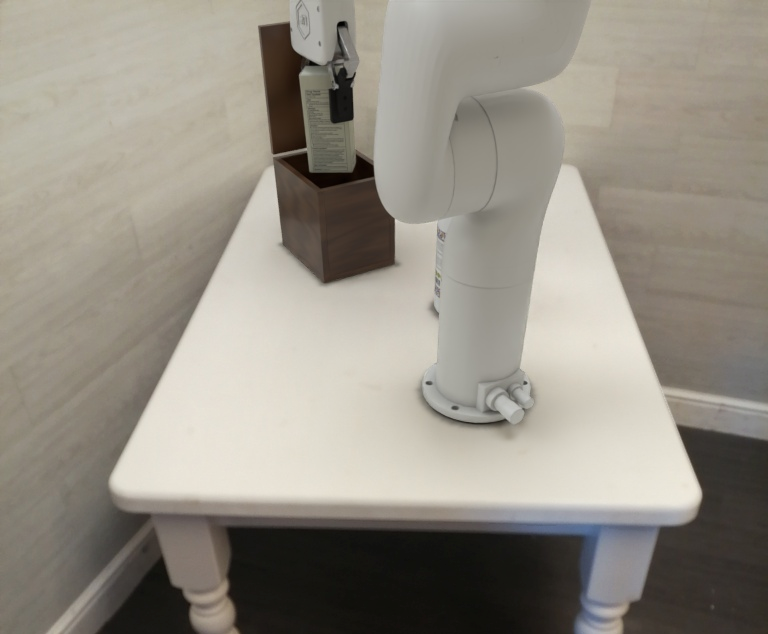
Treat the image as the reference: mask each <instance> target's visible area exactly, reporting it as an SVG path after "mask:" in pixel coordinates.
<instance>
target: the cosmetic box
mask: <svg viewBox="0 0 768 634" xmlns="http://www.w3.org/2000/svg"><path fill="white" fill-rule="evenodd" d="M340 68H343V66H337V67H335V69H336V74H337V75H338V72H339V70H340ZM299 79H300V88H301V98H302V107H303V116H304V126H305V134H306V144H307V148H306V151H307V153H308V162H309V171H310V172H311V173H351V172H353V169H354V167H355V164H356V153H355V149H356V137H355V124H354V122H355V121H354V119H353V120H352V121H347V122H342V123H336V124H333V123H332V122H331V121H330V107H329V90H328V89H330V88H332V87H331V83H330V78H329V74H328V69H327V66H305V67H304V69H303V70H302V71H301V73H300V74H299Z"/></svg>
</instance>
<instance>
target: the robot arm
mask: <svg viewBox="0 0 768 634" xmlns="http://www.w3.org/2000/svg"><path fill="white" fill-rule="evenodd" d="M591 4H592V0H388V2H387V6H386V9H385V15H384V21H383V22H384V23H383V31H382V41H381V54H380V66H379V76H378V88H377V89H378V90H377V102H376V112H375V125H374V126H375V127H374V137H373V138H374V140H373V161H374V175H375V182H376V187H377V191H378V195H379V197H380V200H381V202H382V204H383V206H384V208H385V209H386V211H387V212H388V213H389V214H390V215H391V216H392V217H393V218H395V220H397V221H398V222H400V223H404V224H408V225H422V224H426V223H433V222H438V220H442V219H446V218H450V217H453V218H452V220H451V223H450V225H449V227H448V230H447V233H446V236H445V240H444V245H443V251H442V266H441V285H440V305H439V313H438V328H437V350H436V362H435V363H433V364H432V365H431V366H430V367H429V368H427V370H426V372H425V373H424V375H423V377H422V385H421V388H422V395H423V397H424V400H425V401H426V402H427V404H428V405H429V406H430V407H431V408H432V409H434V410H435V411H436V412H438V413H439V414H442V415H443V416H445V417H448V418H451V419H453V420H457V421H461V422H466V423H475V424H485V423H495V422H498V421H503V420H507V422H509V423H510V424H511V425H517V424H519V423H520V422H521V421H522V420H523V419H524V417H525V414H526V413H525V410H529V409H531V408H532V407H533V406H534V405H535V399H534V398H533V397H532V396H530V394H531V389H532V388H531V382H530V379H529V377H528V376H527V374H526V372H525V371H523V369H522V368H521V366H522V365H521V364H522V358H523V352H524V345H525V339H526V331H527V324H528V317H529V311H530V304H531V297H532V290H533V283H534V276H535V271H536V265H537V258H538V251H539V247H540V246H539V245H540V241H541V235H542V230H543V225H544V221H545V217H546V213H547V210H548V207H549V204H550V201H551V197H552V196H553V192H554V189H555V186H556V183H557V181H558V179H559V174H560V172H561V168H562V164H563V159H564V154H565V144H566V134H565V127H564V123H563V119H562V116H561V114H560V111H559V109H558V108H557V106H556V105H555V104H554V102H553V100H551V99H550V98H549V97H548V96H547V95H545V94H543V93H541V92H539V91H537V90H534V89H531V88H527V87H531V86H535V85H536V86H537V85H540V84H543V83H546V82H548V81H551V80H553V79H554V78H556V77H558V76H559V75H560V74H562V73H563V72H564V70H565V69H567V67H568V66H569V64H570V63H571V61H572V59H573V57H574V55H575V52H576V51H577V47H578V45H579V42H580V39H581V36H582V33H583V30H584V26H585V23H586V20H587V17H588V14H589V10H590V7H591ZM288 6H289V7H288V9H289V21H290V31H291V43H292V47H293V49H294V50H295V51H296V52H297V53H298V54H300V56H301V59H302V61H301V70H303V69H304V67H305V66H324V65H327V69H328V74H329V78H330V83H331V87H332V88H330V89H328V90H329V107H330V121H331V122H332V123H333V124H336V123H342V122H347V121H352V120H353V121H354V119H355V111H354V110H355V109H354V87H355V78H356V76H357V75H356V74H357V70H358V67H359V64H360V57H359V54H358V52H357V24H356V23H357V22H356V9H355V8H356V7H355V0H288ZM334 55H337V56H339V57H341V58H340V59H333V56H334ZM332 59H333V60H332ZM337 66H343V68H340V70H339V72H338V75H337V74H336V69H335V67H337ZM524 409H525V410H524Z"/></svg>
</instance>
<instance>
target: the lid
mask: <svg viewBox="0 0 768 634" xmlns="http://www.w3.org/2000/svg"><path fill="white" fill-rule="evenodd" d="M257 29H258V38H259V48H260V49H259V50H260V57H261V67H262V78H263V86H264V96H265V105H266V112H267V113H266V115H267V125H268V133H269V143H270V144H269V145H270V153H271V155H273V156H274V155H279V154H284V153H289V152H294V151H298V150H304V149H307V144H306V134H305V126H304V116H303V107H302V98H301V88H300V79H299V74H300V73H301V71H302V70H301V61H302V59H301V56H300V54H298V53H297V52H296V51H295V50H294V49H293V47H292V43H291V31H290V20H288V21H281V22H273V23H268V24H267V23H266V24H258V25H257ZM340 58H341V57H339V56H337V55H334V56H333V59H340ZM333 59H332V60H333ZM324 66H327V65H324Z"/></svg>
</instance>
